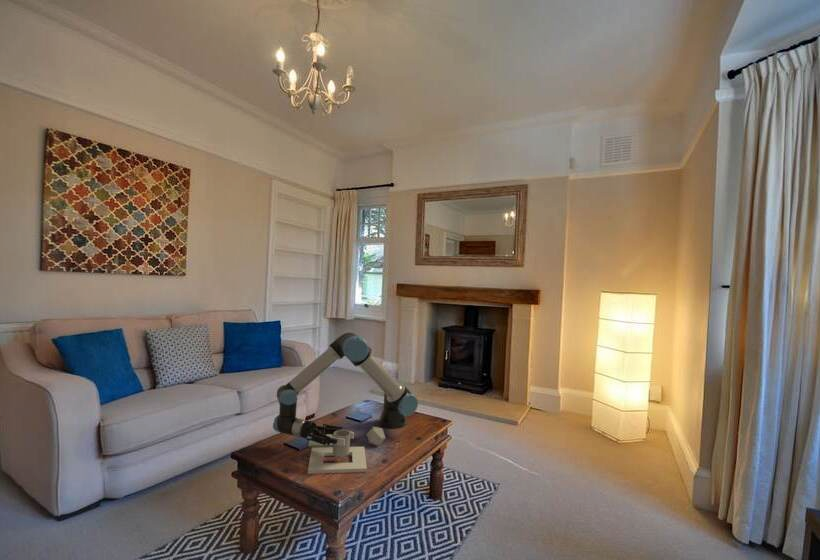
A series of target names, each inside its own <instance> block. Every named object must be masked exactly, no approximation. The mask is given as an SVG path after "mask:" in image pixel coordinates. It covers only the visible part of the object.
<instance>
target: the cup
mask: <svg viewBox="0 0 820 560" xmlns="http://www.w3.org/2000/svg"><path fill="white" fill-rule="evenodd" d="M332 436H333V437H338V438H342V439H345V446H341V445H337V444H332V445H333V455H334V456H333V457H337V458H345V457H347V456H349V455H348V454H349V449H350V447H351V446H350V445H351V438H350V430H348V429H342V430H337V431H335V432H334V433H333V435H332Z"/></svg>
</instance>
